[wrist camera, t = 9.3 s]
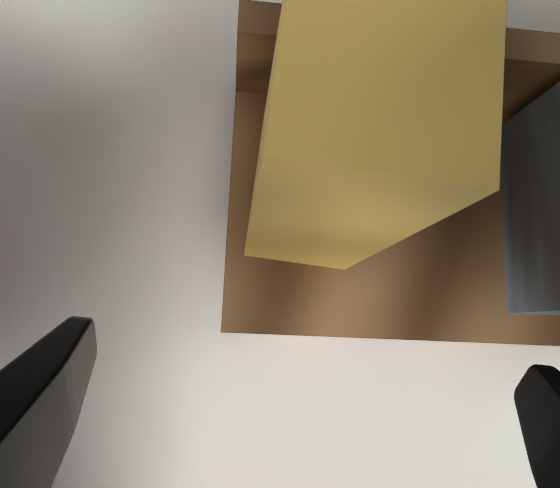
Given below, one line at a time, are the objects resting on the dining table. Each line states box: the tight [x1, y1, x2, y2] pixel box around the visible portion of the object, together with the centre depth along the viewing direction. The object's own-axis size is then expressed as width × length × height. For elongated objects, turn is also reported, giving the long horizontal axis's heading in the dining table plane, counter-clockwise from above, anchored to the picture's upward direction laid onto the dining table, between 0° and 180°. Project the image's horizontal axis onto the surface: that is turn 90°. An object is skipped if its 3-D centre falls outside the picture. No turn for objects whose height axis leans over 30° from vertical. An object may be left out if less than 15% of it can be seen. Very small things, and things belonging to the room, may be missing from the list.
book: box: [244, 0, 507, 270], centre depth 14 cm, size 4×6×11 cm
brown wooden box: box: [221, 0, 560, 346], centre depth 15 cm, size 17×11×11 cm, turn 88°
